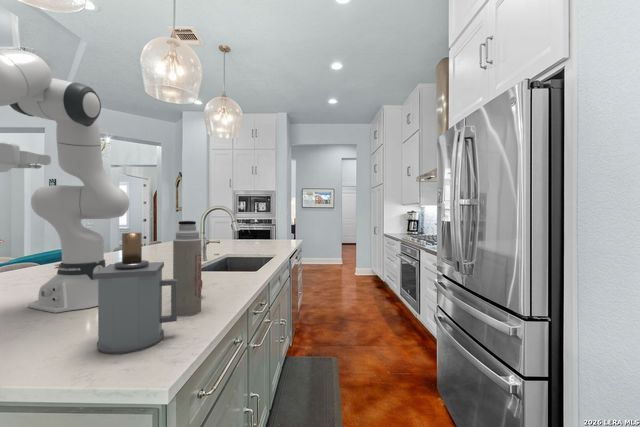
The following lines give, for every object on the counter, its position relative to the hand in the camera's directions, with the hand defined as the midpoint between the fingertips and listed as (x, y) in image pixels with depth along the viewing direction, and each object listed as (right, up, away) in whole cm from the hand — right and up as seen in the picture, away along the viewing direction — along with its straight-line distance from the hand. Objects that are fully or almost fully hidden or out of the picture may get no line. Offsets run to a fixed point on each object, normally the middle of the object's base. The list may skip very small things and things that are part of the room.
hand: (45, 162), depth 63 cm
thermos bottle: (+14, -41, +33) cm, 55 cm away
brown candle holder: (+10, -34, +12) cm, 37 cm away
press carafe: (+12, -41, +12) cm, 44 cm away
